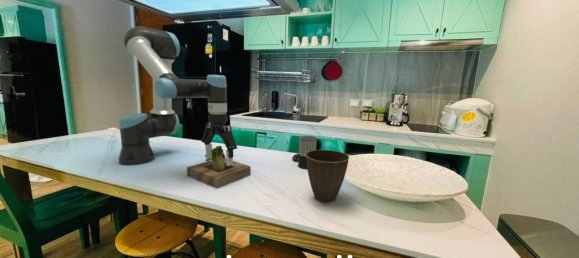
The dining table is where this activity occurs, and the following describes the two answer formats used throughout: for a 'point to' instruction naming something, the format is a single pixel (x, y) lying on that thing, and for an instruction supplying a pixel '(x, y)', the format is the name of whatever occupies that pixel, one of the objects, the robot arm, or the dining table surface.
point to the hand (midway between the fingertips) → (219, 161)
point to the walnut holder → (218, 173)
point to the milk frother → (306, 149)
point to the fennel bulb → (218, 159)
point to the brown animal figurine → (214, 150)
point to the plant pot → (326, 173)
